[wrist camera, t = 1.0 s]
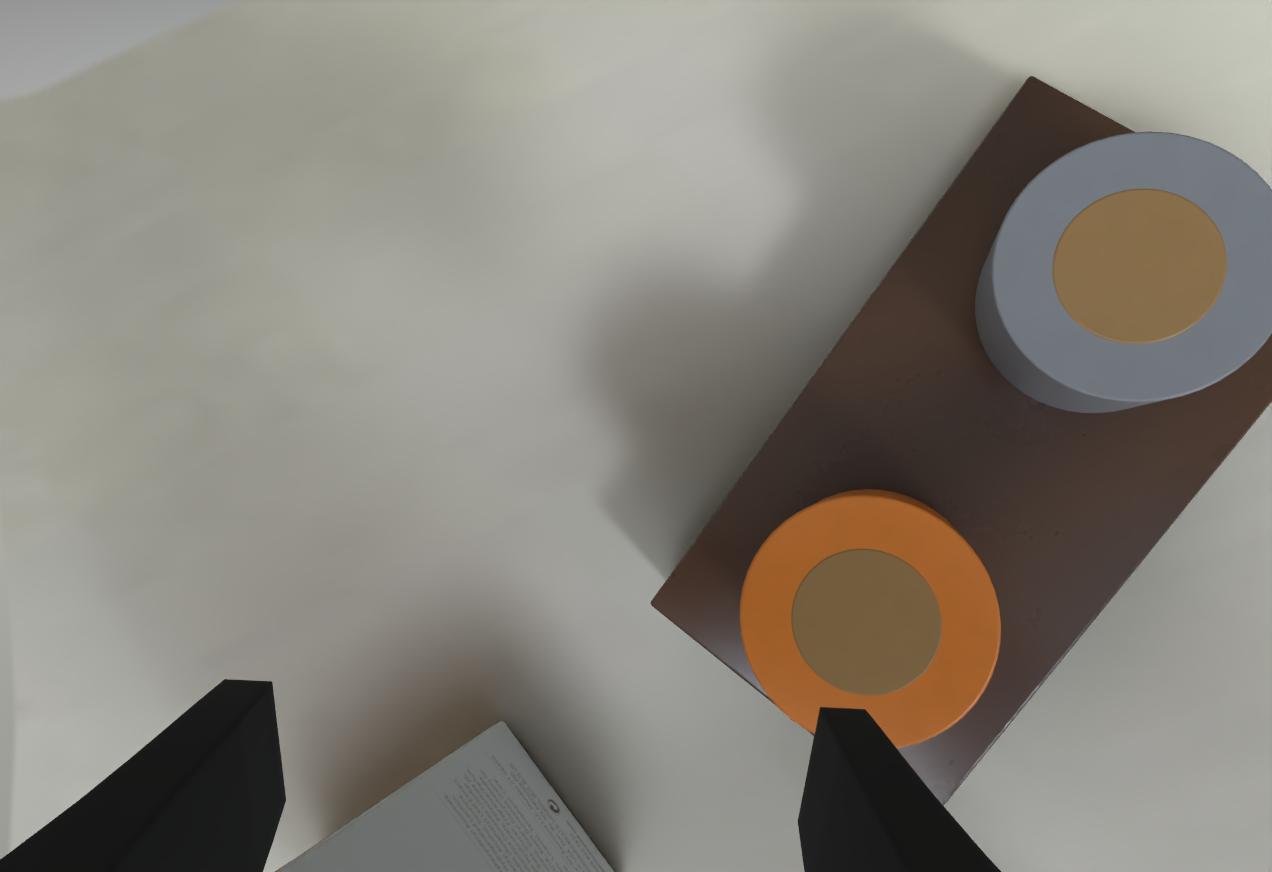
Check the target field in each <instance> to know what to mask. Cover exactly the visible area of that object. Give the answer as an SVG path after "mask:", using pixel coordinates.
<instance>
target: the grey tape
mask: <svg viewBox="0 0 1272 872" xmlns="http://www.w3.org/2000/svg"><path fill="white" fill-rule="evenodd" d="M975 317H976V325H977V329H978V333H979V337H980V340H981V342H982V345H983V347H984V349H985V352H986V353H987V355H988V357H989V358H990V360H991V362H992V363H993V365H994V366H995V367H996V369H997V370H998V371H999V372H1000V374H1001V375H1002V376H1003V377H1004V378H1005V379H1006V380H1007V381H1008V382H1009V383H1011V384H1012V385H1013V386H1014V387H1016V388H1017V389H1018V390H1020V391H1021V392H1022V393H1024V394H1025V395H1027V396H1029V397H1031V398H1033V399H1034V400H1036V401H1038V402H1041V403H1043V404H1046V405H1048V406H1051V407H1054V408H1058V409H1062V410H1066V411H1072V412H1079V413H1105V412H1115V411H1119V410H1124V409H1128V408H1133V407H1137V406H1141V405H1146V404H1150V403H1154V402H1159V401H1163V400H1167V399H1172V398H1176V397H1180V396H1184V395H1187V394H1190V393H1193V392H1196V391H1199V390H1201V389H1204V388H1206V387H1208V386H1210V385H1212V384H1214V383H1216V382H1218V381H1220V380H1222V379H1223V378H1225V377H1226V376H1228V375H1229V374H1231V373H1232V372H1234V371H1235V370H1237V369H1238V368H1239V367H1241V366H1242V365H1243V364H1244V363H1245V362H1246V361H1248V360H1249V359H1250V358H1251V357H1252V356H1253V355H1254V354H1255V353H1256V352H1257V351H1258V350H1259V349H1260V348H1261V347H1262V345H1263V344H1264V343H1265V342H1266V341H1267V339H1268V338H1269V336H1270V335H1271V334H1272V190H1271V188H1270V187H1269V186H1268V184H1267V183H1266V182H1265V181H1264V180H1263V179H1262V178H1261V177H1260V176H1259V175H1258V173H1257V172H1255V171H1254V170H1253V169H1252V168H1251V167H1249V166H1248V165H1247V164H1246V163H1245V162H1243V161H1242V160H1241V159H1239V158H1237V157H1236V156H1234V155H1233V154H1231V153H1229V152H1228V151H1226V150H1224V149H1222V148H1220V147H1218V146H1215V145H1213V144H1211V143H1209V142H1206V141H1202V140H1199V139H1196V138H1193V137H1189V136H1184V135H1178V134H1173V133H1161V132H1139V133H1128V134H1122V135H1116V136H1111V137H1107V138H1104V139H1101V140H1097V141H1094V142H1091V143H1089V144H1086V145H1084V146H1082V147H1079V148H1077V149H1074V150H1073V151H1071V152H1069V153H1067V154H1066V155H1064V156H1062V157H1060V158H1059V159H1057V160H1056V161H1054V162H1053V163H1052V164H1050V165H1049V166H1048V167H1046V168H1045V169H1043V170H1042V171H1041V172H1040V173H1039V174H1038V175H1037V176H1036V177H1035V178H1034V179H1033V180H1032V181H1030V182H1029V183H1028V185H1027V186H1026V187H1025V188H1024V189H1023V191H1022V192H1021V193H1020V194H1019V195H1018V197H1017V198H1016V200H1015V201H1014V203H1013V204H1012V206H1011V207H1010V209H1009V211H1008V212H1007V214H1006V216H1005V219H1004V221H1003V223H1002V225H1001V227H1000V229H999V232H998V234H997V236H996V238H995V241H994V243H993V245H992V248H991V250H990V252H989V254H988V257H987V259H986V261H985V263H984V266H983V268H982V271H981V274H980V277H979V280H978V284H977V290H976V295H975Z"/></svg>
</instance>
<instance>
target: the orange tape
mask: <svg viewBox="0 0 1272 872" xmlns="http://www.w3.org/2000/svg"><path fill="white" fill-rule="evenodd" d="M740 629H741V637H742V641H743V646H744V650H745V653H746V656H747V659H748V661H749V664H750V667H751V669H752V671H753V673H754V675H755V676H756V678H757V680H758V682H759V683H760V685H761V686H762V688H763V689H764V691H765V692H766V694H767V695H768V696H769V697H770V699H771V700H772V701H773V702H774V703H775V704H776V706H777V707H778V708H779V709H780V710H781V711H783V712H784V713H785V714H786V715H787V716H788V717H789V718H790V719H792V720H793V721H794V722H796V723H797V724H799V725H800V726H802V727H803V728H804V729H806V730H808V731H810V732H812V733H814V734H815V730H816V725H817V720H818V715H819V709H820V707H831V708H852V709H866V711H867V712H868V713H869V714H870V715H871V716H872V718H873V719H874V720H875V721H876V723H877V724H878V725H879V726H880V728H881V729H882V730H883V731H884V733H885V734H886V735H887V737H888V738H889V739H890V740H891V742H892V743H893V744H894V745H895V747H896V748H901V747H906V746H910V745H913V744H917V743H921V742H923V741H925V740H928V739H930V738H932V737H935V736H937V735H938V734H940V733H942V732H943V731H945V730H947V729H948V728H950V727H951V726H953V725H954V724H955V723H956V722H958V721H959V720H960V719H961V718H962V717H964V716H965V715H966V713H967V712H968V711H969V710H970V709H971V708H972V707H973V706H974V705H975V704H976V702H977V701H978V699H979V698H980V696H981V695H982V693H983V692H984V691H985V689H986V687H987V685H988V683H989V681H990V678H991V676H992V674H993V671H994V668H995V665H996V662H997V659H998V653H999V647H1000V640H1001V620H1000V611H999V605H998V601H997V597H996V593H995V589H994V587H993V584H992V582H991V579H990V577H989V574H988V572H987V571H986V569H985V567H984V565H983V564H982V562H981V560H980V558H979V557H978V556H977V554H976V553H975V552H974V550H973V549H972V548H971V546H970V545H969V544H968V542H967V541H966V540H965V539H964V538H963V537H962V536H961V534H960V533H959V532H958V531H957V530H956V529H955V528H954V527H953V526H952V525H951V524H950V523H949V521H948V520H947V519H945V518H944V517H943V516H942V515H940V514H939V513H938V512H937V511H935V510H934V509H932V508H931V507H929V506H927V505H926V504H924V503H923V502H920V501H918V500H916V499H914V498H912V497H909V496H906V495H903V494H900V493H896V492H892V491H886V490H877V489H861V490H851V491H847V492H842V493H838V494H835V495H833V496H830V497H827V498H825V499H823V500H821V501H819V502H817V503H815V504H813V505H811V506H809V507H807V508H805V509H803V510H801V511H799V512H797V513H796V514H794V515H793V516H791V517H790V518H789V519H787V520H786V521H784V522H783V523H782V524H781V525H780V526H779V527H778V528H777V529H775V530H774V531H773V532H772V533H771V535H770V536H769V537H768V538H767V539H766V541H765V542H764V543H763V544H762V546H761V547H760V549H759V550H758V552H757V553H756V555H755V557H754V558H753V561H752V563H751V565H750V567H749V569H748V571H747V575H746V578H745V581H744V584H743V588H742V594H741V600H740Z"/></svg>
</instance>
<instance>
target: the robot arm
mask: <svg viewBox="0 0 1272 872" xmlns="http://www.w3.org/2000/svg"><path fill="white" fill-rule="evenodd" d="M285 802H286V796H285V787H284V779H283V770H282V762H281V753H280V745H279V736H278V728H277V719H276V711H275V702H274V694H273V685H272V682H270V681H249V680H227V679H225V680H223V681H222V682H221V683H220V684H218V685H217V686H216V687H215V688H214V689H212V690H211V691H210V692H209V693H208V694H206V695H205V696H204V697H203V698H201V699H200V700H199V701H198V702H197V703H196V704H194V705H193V706H192V707H191V708H190V709H188V710H187V711H186V712H185V713H184V714H182V715H181V716H180V717H179V718H178V719H177V720H175V721H174V722H173V723H172V724H171V725H170V726H168V727H167V728H166V729H165V730H164V731H162V732H161V733H160V734H159V735H158V736H157V737H155V738H154V739H153V740H152V741H151V742H149V743H148V744H147V745H146V746H145V747H143V748H142V749H141V750H140V751H139V752H138V753H136V754H135V755H134V756H133V757H132V758H130V759H129V760H128V761H127V762H125V763H124V764H123V765H122V766H121V767H119V768H118V769H117V770H116V771H114V772H113V773H112V774H111V775H109V776H108V777H107V778H106V779H105V780H103V781H102V782H101V783H100V784H98V785H97V786H96V787H95V788H94V789H92V790H91V791H90V792H89V793H87V794H86V795H85V796H84V797H83V798H81V799H80V800H79V801H77V802H76V803H75V804H74V805H72V806H71V807H70V808H68V809H67V810H66V811H64V812H63V813H62V814H60V815H59V816H58V817H56V818H55V819H54V820H52V821H51V822H50V823H48V824H47V825H46V826H44V827H43V828H42V829H40V830H39V831H38V832H37V833H35V834H34V835H33V836H31V837H30V838H29V839H27V840H26V841H25V842H23V843H22V844H21V845H19V846H18V847H17V848H15V849H14V850H13V851H11V852H10V853H9V854H7V855H6V856H5V857H3V858H2V859H0V872H263V869H264V866H265V863H266V860H267V857H268V855H269V852H270V849H271V846H272V843H273V840H274V836H275V833H276V830H277V827H278V824H279V821H280V817H281V814H282V811H283V808H284V805H285ZM798 826H799V833H800V841H801V848H802V856H803V863H804V870H805V872H1001V871H1000V870H999V869H998V868H997V867H996V866H995V865H994V864H993V862H992V861H991V860H990V859H989V858H988V857H987V856H986V855H985V854H984V852H983V851H982V850H981V849H980V848H979V847H978V846H977V845H976V843H975V842H974V841H973V840H972V839H971V838H970V836H969V835H968V834H967V833H966V832H965V831H964V830H963V828H962V827H961V826H960V825H959V824H958V823H957V821H956V820H955V819H954V818H953V817H952V816H951V814H950V813H949V812H948V811H947V810H946V809H945V807H944V806H943V805H942V804H941V803H940V801H939V800H938V799H937V798H936V797H935V795H934V794H933V793H932V792H931V791H930V789H929V788H928V787H927V786H926V784H925V783H924V782H923V781H922V779H921V778H920V777H919V776H918V774H917V773H916V772H915V771H914V769H913V768H912V767H911V766H910V764H909V763H908V762H907V761H906V759H905V758H904V757H903V756H902V754H901V753H900V752H899V751H898V749H897V748H896V747H895V745H894V744H893V743H892V742H891V740H890V739H889V738H888V737H887V735H886V734H885V733H884V731H883V730H882V729H881V728H880V726H879V725H878V724H877V723H876V721H875V720H874V719H873V718H872V716H871V715H870V714H869V713H868V712H867V711H866V709H852V708H831V707H820V709H819V715H818V720H817V725H816V730H815V735H814V740H813V746H812V751H811V756H810V761H809V766H808V771H807V777H806V782H805V787H804V792H803V797H802V802H801V808H800V813H799V818H798Z"/></svg>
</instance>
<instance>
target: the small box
mask: <svg viewBox="0 0 1272 872" xmlns="http://www.w3.org/2000/svg"><path fill="white" fill-rule="evenodd" d="M275 872H614V871H613V869H612V868H611V867H610V866H609V864H608V863H607V861H606V860H605V859H604V857H603V856H602V855H601V853H600V852H599V851H598V849H597V848H596V846H595V845H594V844H593V842H592V841H591V840H590V838H589V837H588V835H587V834H586V833H585V831H584V830H583V829H582V827H581V826H580V824H579V823H578V822H577V820H576V819H575V818H574V816H573V815H572V814H571V812H570V811H569V810H568V808H567V807H566V806H565V804H564V803H563V802H562V800H561V799H560V798H559V796H558V795H557V793H556V792H555V791H554V789H553V788H552V787H551V785H550V784H549V783H548V781H547V780H546V779H545V777H544V776H543V775H542V773H541V772H540V771H539V769H538V768H537V766H536V765H535V764H534V762H533V761H532V760H531V758H530V757H529V755H528V754H527V753H526V751H525V750H524V749H523V747H522V746H521V744H520V743H519V742H518V740H517V739H516V738H515V736H514V735H513V734H512V732H511V731H510V729H509V728H508V727H507V725H506V724H505V723H504V722H503V721H499V722H497V723H496V724H494V725H493V726H491V727H490V728H488V729H487V730H485V731H484V732H482V733H481V734H479V735H478V736H476V737H475V738H473V739H472V740H470V741H469V742H467V743H466V744H464V745H463V746H461V747H460V748H458V749H457V750H456V751H454V752H453V753H451V754H449V755H448V756H446V757H445V758H443V759H442V760H441V761H439V762H438V763H436V764H435V765H433V766H432V767H430V768H429V769H427V770H426V771H424V772H423V773H421V774H420V775H418V776H417V777H415V778H414V779H412V780H411V781H409V782H408V783H406V784H405V785H403V786H402V787H400V788H399V789H397V790H396V791H394V792H393V793H391V794H390V795H388V796H387V797H386V798H384V799H383V800H381V801H380V802H378V803H377V804H375V805H374V806H372V807H371V808H369V809H368V810H366V811H365V812H363V813H362V814H360V815H359V816H358V817H356V818H355V819H353V820H352V821H350V822H349V823H347V824H346V825H344V826H343V827H341V828H340V829H338V830H337V831H335V832H334V833H332V834H331V835H330V836H328V837H327V838H325V839H324V840H322V841H321V842H319V843H318V844H316V845H315V846H313V847H312V848H310V849H309V850H307V851H306V852H304V853H303V854H301V855H300V856H298V857H297V858H295V859H293V860H292V861H290V862H289V863H287V864H286V865H284V866H283V867H281V868H280V869H278V870H277V871H275Z"/></svg>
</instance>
